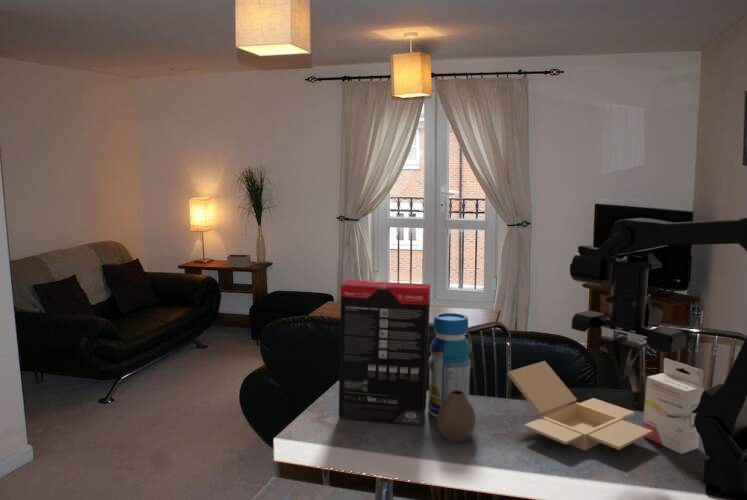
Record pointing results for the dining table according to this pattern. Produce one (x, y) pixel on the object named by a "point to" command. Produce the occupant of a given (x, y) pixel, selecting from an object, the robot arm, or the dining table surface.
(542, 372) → the flap
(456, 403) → the vase
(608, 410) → the carton
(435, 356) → the beverage bottle
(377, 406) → the graphics card box
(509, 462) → the dining table surface
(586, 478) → the dining table surface
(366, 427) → the dining table surface
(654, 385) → the ink cartridge box
